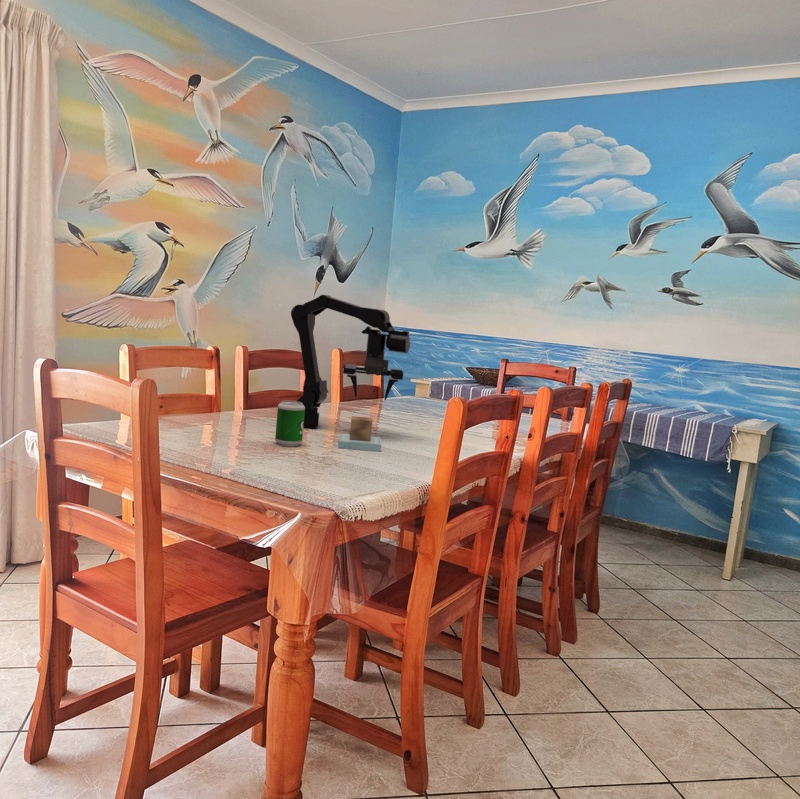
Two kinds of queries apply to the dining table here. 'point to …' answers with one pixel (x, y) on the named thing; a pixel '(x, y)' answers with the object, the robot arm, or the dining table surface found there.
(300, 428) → the soda can
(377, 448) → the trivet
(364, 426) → the walnut cube
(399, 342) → the robot arm
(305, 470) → the dining table surface
